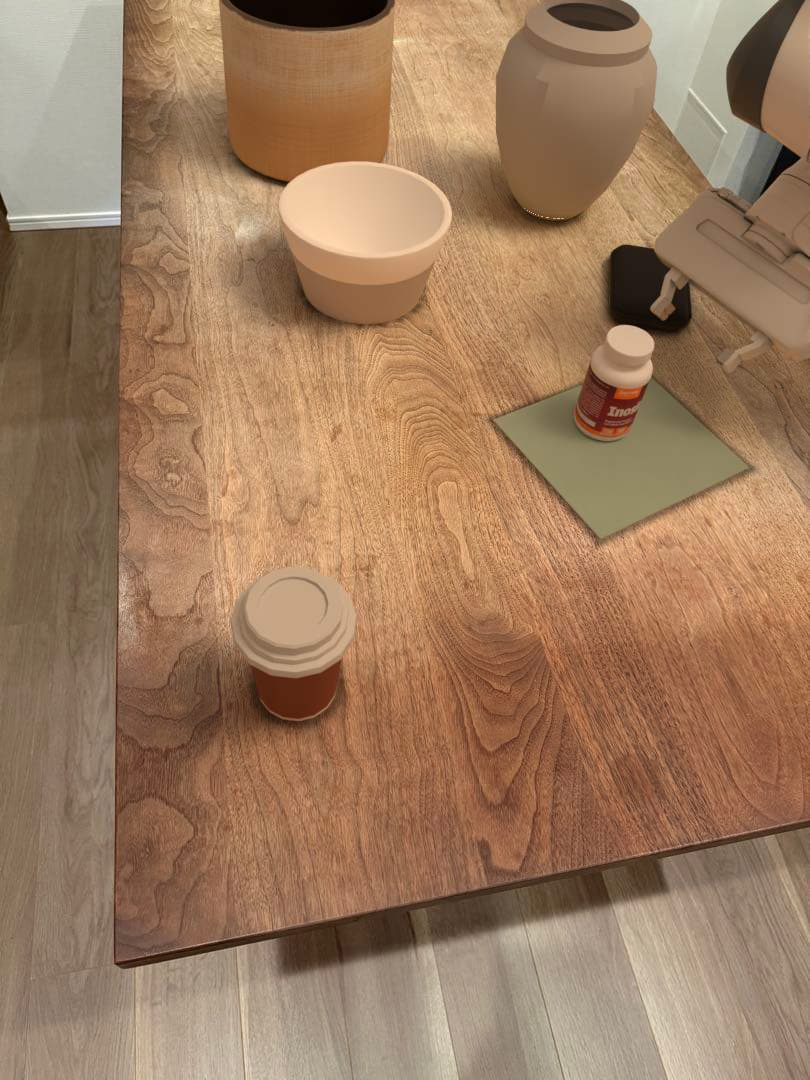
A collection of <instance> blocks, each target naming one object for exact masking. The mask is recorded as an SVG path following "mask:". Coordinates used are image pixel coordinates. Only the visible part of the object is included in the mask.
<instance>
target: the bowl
mask: <svg viewBox="0 0 810 1080" xmlns="http://www.w3.org/2000/svg"><path fill="white" fill-rule="evenodd" d="M277 204H278V208H277V209H278V215H279V219H280V221H281V225H282V228H283V231H284V234H285V237H286V241H287V244H288V246H289V249H290V252H291V255H292V259H293V262H294V265H295V268H296V270H297V271H296V272H297V274H298V277H299V281H300V283H301V287H302V290H303V293H304V296H305V297H306V299H307V301H308V302H309V303H310V304H311V305H312V306H313V307H314V308H315V309H316V310H317V311H319V312H320V313H322V314H323V315H325V316H327V317H329V318H332V319H335V320H337V321H341V322H345V323H350V324H356V325H357V324H358V325H375V324H383V323H388V322H391V321H395V320H397V319H399V318H402V317H404V316H405V315H406V314H408V313H409V312H411V311H412V310H413V309H414V308H415V307H416V306H417V305H418V303H419V301H420V299H421V297H422V295H423V292H424V290H425V288H426V285H427V283H428V280H429V277H430V275H431V272H432V270H433V267H434V265H435V263H436V260H437V258H438V256H439V255H440V252H441V249H442V247H443V244H444V243H445V240H446V237H447V235H448V232H449V230H450V229H451V225H452V221H453V211H452V207H451V203H450V201H449V199H448V198H447V196H446V195H445V193H444V192H443V191H442V190H441V189H440V188H439V187H438V186H437V185H436V184H434V183H433V182H432V181H431V180H429V179H427V178H426V177H424V176H422V175H420V174H418V173H416V172H414V171H411V170H408V169H406V168H403V167H400V166H396V165H391V164H387V163H382V162H380V163H375V162H358V161H351V162H339V163H333V164H328V165H323V166H320V167H317V168H314V169H311V170H308V171H306V172H304V173H302V174H301V175H299V176H297V177H296V178H294V179H293V180H292V181H291V182H290V183H287V184H286V185H285V187H284V188H283V190H282V191H281V194H280V197H279V200H278V202H277Z"/></svg>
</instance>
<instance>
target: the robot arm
mask: <svg viewBox="0 0 810 1080" xmlns="http://www.w3.org/2000/svg"><path fill="white" fill-rule="evenodd" d="M725 83H726V94H727V99H728V103H729V108H730V112H731V114H732V115H733V116H734V117H736V118H737V119H739V120H740V121H743V122H744V123H746V124H748V125H750V126H752V127H753V128H755V129H757V130H759V131H760V132H761V133H763V134H766V133H767V134H768V135H770V136H771V137H772V138H774V139H775V140H777V142H778V143H780V144H781V145H783V146H784V147H786V148H787V149H788V150H790V151H791V152H792V153H794V154H795V155H797V156H798V157H800V158H799V160H797V161H796V162H795V163H794V164H792V165H791V166H789V167H788V168H786V169H785V170H784V171H782V173H780V174H779V176H778V177H777V178H776V179H775V180H774V181H773V182H772V184H771V185H769V187H768V188H767V189H766V190H765V191H764V192H763V193H762V195H760V196H759V198H758V199H757V200H756V201H755V202H754V203H753V204H752V203H750V202H749V201H747V200H746V199H745V198H743V197H740V196H738V195H736V194H735V193H734V191H732V190H731V189H729V188H727V187H724V186H723V187H720V188H717V187H711V188H709V189H705V190H703V191H702V192H700V193H699V194H698V196H696V198H695V199H694V200H693V201H692V202H691V204H690V205H689V207H687V208H686V209H684V211H682V213H680V215H678V216H677V217H676V218H675V219H673V221H672V222H670V224H669V225H667V227H666V228H665V229H664V230H662V231H661V232H660V234H659V235H658V236H657V237H656V238H655V242H654V247H653V248H654V251H655V253H656V255H657V256H658V258H659V259H660V260H661V262H662V263H663V264H665V265H666V266H667V267H669V268H670V271H669V272H668V273H667V274H666V275H665V278H664V282H663V286H662V290H661V295H660V297H659V298H658V299H657V300H656V301H655V302H654V303H653V304H652V306H651V308H650V310H651V311H652V312H653V314H655V315H656V316H657V317H659V318H660V319H661V320H662V321H664V320H666V319H667V318H668V315H669V314H671V313H672V312H673V311H674V310H675V307H674V306H673V305H672V303H671V301H672V298H673V295H674V292H675V289H676V287H677V288H678V289H679V290H680V289H682V288H683V287H684V285H685V284H686V283H687V282H689V285H691V286H692V287H694V288H695V289H697V290H698V291H699V292H701V293H702V294H704V296H706V297H708V299H710V300H711V301H713V303H715V304H717V305H718V306H719V307H721V308H722V309H723V310H725V311H726V312H727V313H729V314H730V315H731V316H732V317H734V318H735V319H736V320H738V321H739V322H741V323H742V324H743V325H744V326H746V327H747V328H748V329H750V330H751V331H753V332H754V333H753V334H752V335H751V336H750V338H749V340H750V342H751V343H749V344H747V345H744V346H742V347H740V348H737V349H735V350H733V349H732V348H731V347H729V346H727V347H726V348H724V350H722V354H719V355H718V356H717V357H716V359H715V363H716V364H717V365H718V366H719V367H720V368H721V369H723V370H724V372H726V373H728V374H730V373H732V372H733V371H734V370H735V369H736V368H737V367H738V366H739V365H740V364H741V363H742V362H745V361H749V360H751V359H754V358H757V357H759V356H763V355H765V353H767V352H768V351H769V350H770V349H771V347H772V346H773V347H774V348H775V349H776V350H778V351H779V352H781V353H782V354H783V355H785V356H786V357H787V358H788V359H790V360H792V362H795V363H798V362H803V361H807V360H809V359H810V0H777V1H776V2H775V3H774V4H773V5H772V6H771V7H770V8H769V9H768V10H767V11H766V12H765V13H764V14H763V15H762V16H761V17H760V18H759V19H758V20H757V21H756V22H755V23H754V24H753V26H752V27H751V28H749V30H748V31H747V32H746V34H745V35H744V36H743V37H742V39H741V40H740V41H739V43H738V45H737V46H736V48H735V49H734V51H733V52H732V53H731V55H730V57H729V60H728V62H727V65H726V71H725Z"/></svg>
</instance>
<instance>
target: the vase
mask: <svg viewBox="0 0 810 1080" xmlns="http://www.w3.org/2000/svg"><path fill="white" fill-rule="evenodd" d="M652 39H653V31H652V28H651V26H650V25H649V24H648V23H647V22H646V20H645V19H644V18H643V17H642V16H641V15H640V13H639V11H638V10H637V9H636V8H635V7H634V6H632V5H631V4H629V3H628V2H627V1H624V0H542V1H541V2H539V3H537V4H535V5H533V6H532V7H530V8H529V9H528V10H527V12H526V13H525V15H524V26H522V28H521V29H520V30H518V31H517V32H516V33H515V34H514V35H513V36H512V37H511V38H510V39H509V40H508V42H507V44H506V47H505V50H504V53H503V54H502V55H503V56H502V58H501V60H500V63H499V67H498V69H497V72H496V74H495V135H496V140H497V146H498V151H499V157H500V163H501V168H502V172H503V174H504V176H505V179H506V181H507V183H508V186H509V189H510V191H511V193H512V196H513V197H514V198H515V200H516V201H517V203H518V205H519V206H520V207H521V208H522V210H524V211H525V212H526V213H528V214H529V215H530V216H531V215H532V216H533V217H536V218H537V219H538V218H539V219H542V220H547V221H566V220H569V219H572V218H575V217H576V216H578V215H580V214H581V213H583V212H584V211H586V210H587V209H589V207H591V206H592V205H593V204H594V203H595V202H596V201H597V200H598V199H600V197H601V196H602V195H604V193H605V192H606V191H607V190H608V188H609V187H610V186H611V185H612V183H613V182H614V180H615V179H616V177H617V175H618V174H619V173H620V171H621V170H622V168H624V166H625V164H626V163H627V161H628V160H629V159H630V157H631V155H633V152H634V150H635V148H636V146H637V143H638V142H639V139H640V137H641V135H642V132H643V131H644V128H645V126H646V124H647V122H648V120H649V117H650V115H651V113H652V111H653V109H654V105H655V101H656V100H655V99H656V87H657V77H658V65H657V61H656V59H655V57H654V55H653V52H652V50H651V48H650V45H651V43H652ZM524 208H525V209H524ZM527 210H528V211H527ZM529 211H530V212H529ZM531 212H532V213H531ZM533 213H534V214H533ZM535 214H536V215H535ZM538 215H539V216H538ZM541 216H543V217H541ZM546 217H549V218H546ZM569 217H570V218H569ZM553 218H556V219H553ZM557 218H560V219H557ZM561 218H564V219H561Z"/></svg>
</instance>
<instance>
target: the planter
mask: <svg viewBox="0 0 810 1080" xmlns="http://www.w3.org/2000/svg"><path fill="white" fill-rule="evenodd" d="M218 7H219V18H220V19H219V20H220V31H221V45H222V56H223V57H222V58H223V59H222V61H223V74H224V85H225V86H224V87H225V100H226V101H225V102H226V116H227V128H228V137H229V142H230V146H231V149H232V151H233V153H234V155H235V156H236V157H237V158H238V159H239V160H240V161H241V162H242V163H243V164H244V165H246V166H247V167H249V168H250V169H252V170H253V171H255V172H257V173H259V174H260V175H263V176H265V177H267V178H269V179H272V180H276V181H280V182H282V183H283V182H284V183H287V184H288V183H290V182H291V181H292V180H293V179H294V178H296V177H297V176H299V175H301V174H302V173H304V172H306V171H308V170H311V169H314V168H317V167H320V166H323V165H328V164H333V163H339V162H351V161H358V162H375V163H382V160H383V159H384V158H385V156H386V154H387V152H388V151H387V150H388V146H389V140H390V125H391V123H390V122H391V121H390V120H391V101H392V99H391V97H392V75H393V74H392V73H393V54H394V52H393V51H394V36H395V35H394V31H395V15H396V0H218Z"/></svg>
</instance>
